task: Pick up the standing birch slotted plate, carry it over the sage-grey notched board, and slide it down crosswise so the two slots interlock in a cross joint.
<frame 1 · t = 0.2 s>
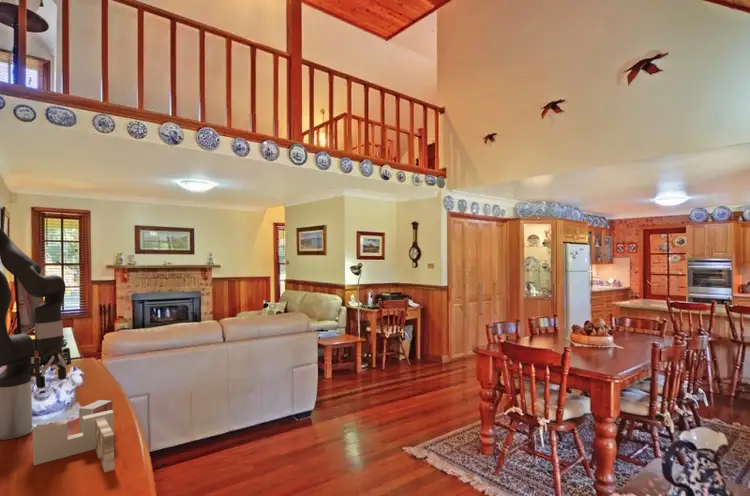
hand: (52, 383, 142), 17 cm above the table, tool pointing down, fingers open, 8 cm apart
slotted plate: (104, 460, 124), on the table
notched board: (75, 452, 130), on the table
small box: (96, 436, 141), on the table
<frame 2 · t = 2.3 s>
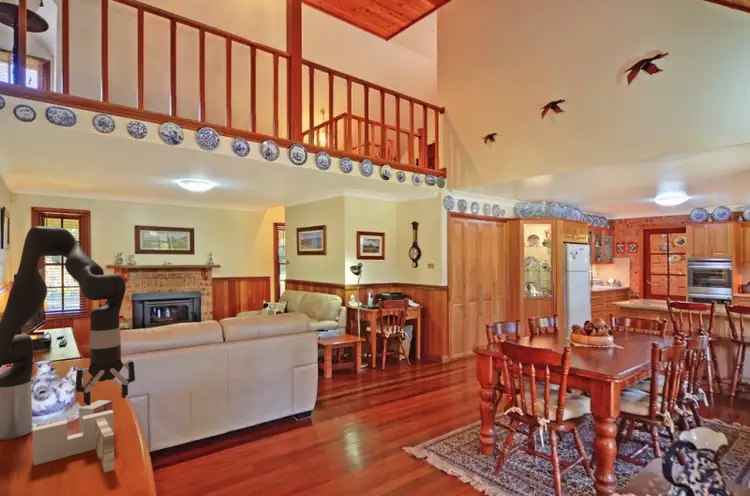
hand: (106, 401, 121), 18 cm above the table, tool pointing down, fingers open, 8 cm apart
nothing on the table moved.
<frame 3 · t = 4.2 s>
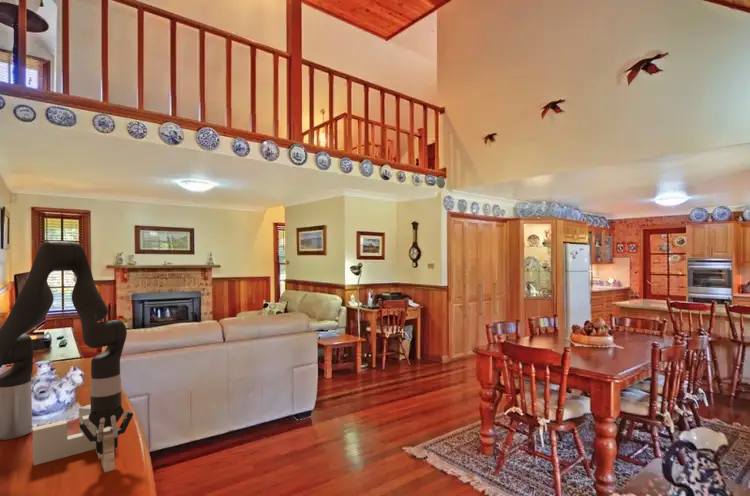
hand: (107, 451, 121), 4 cm above the table, tool pointing down, fingers closed on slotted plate, 2 cm apart
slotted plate: (104, 460, 124), on the table, touching gripper
everything else where it was.
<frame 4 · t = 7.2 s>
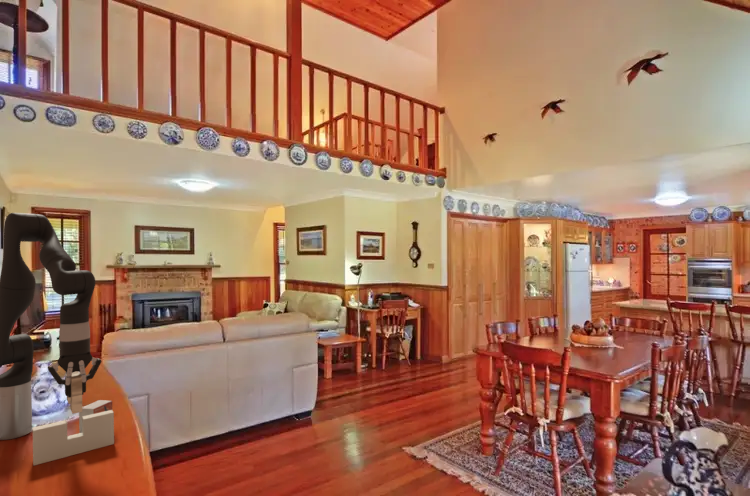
hand: (75, 395, 127), 18 cm above the table, tool pointing down, fingers closed on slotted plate, 2 cm apart
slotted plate: (74, 405, 130), point 14 cm above the table, touching gripper
everything else where it was.
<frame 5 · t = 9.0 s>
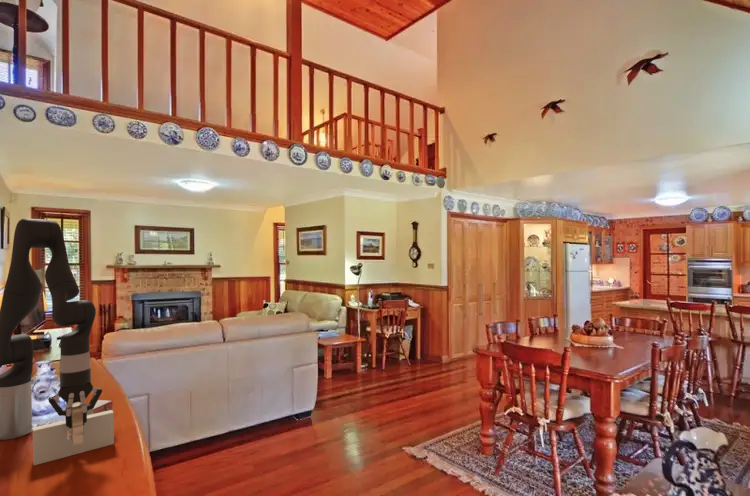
hand: (76, 425, 126), 9 cm above the table, tool pointing down, fingers closed on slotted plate, 2 cm apart
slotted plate: (75, 435, 130), point 5 cm above the table, touching gripper
everything else where it was.
when the fingers open (5 cm above the table, at t = 10.2 s): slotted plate stays where it is, resting on notched board.
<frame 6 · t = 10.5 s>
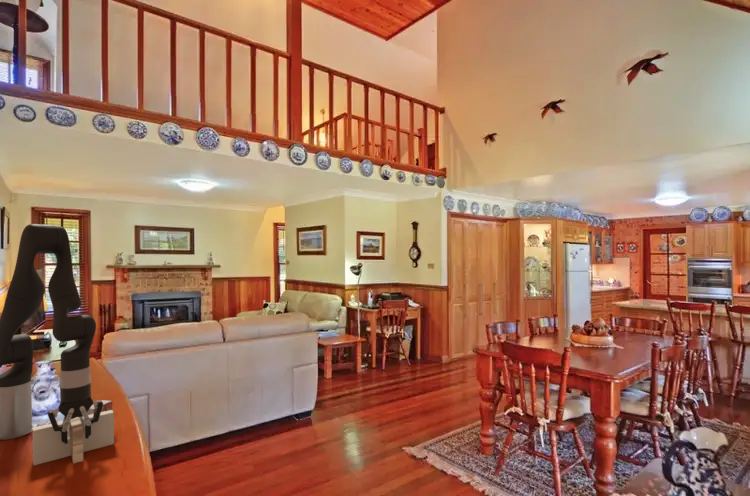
hand: (76, 440, 127), 5 cm above the table, tool pointing down, fingers open, 4 cm apart
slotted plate: (75, 452, 130), resting on notched board
everything else where it was.
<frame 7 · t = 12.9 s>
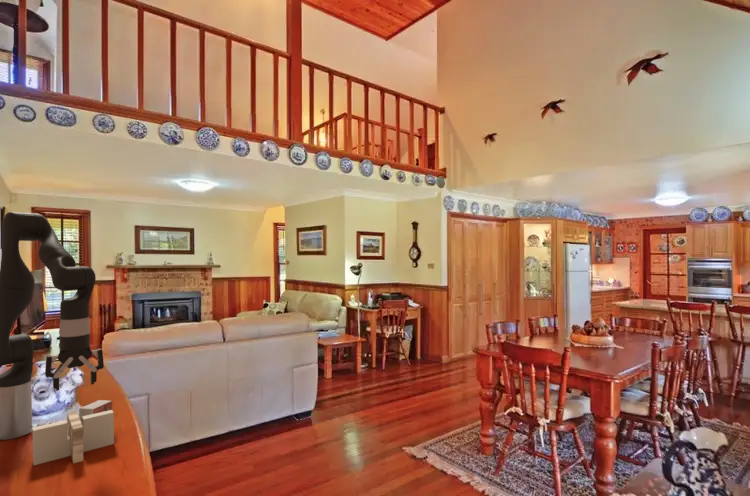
hand: (75, 386, 127), 21 cm above the table, tool pointing down, fingers open, 8 cm apart
nothing on the table moved.
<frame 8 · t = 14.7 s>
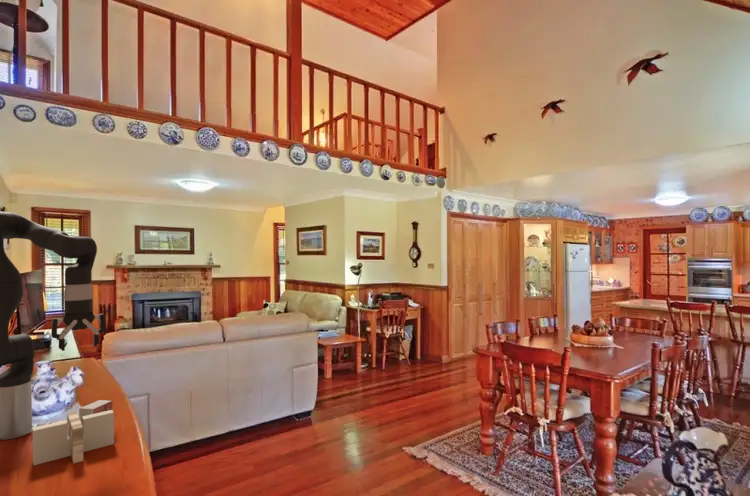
hand: (79, 348, 137), 30 cm above the table, tool pointing down, fingers open, 8 cm apart
nothing on the table moved.
at the end: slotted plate 0.0 cm off-centre on the notched board, point 0.0 cm above the notched board's base; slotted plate tilted 0°; the gripper is holding nothing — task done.
